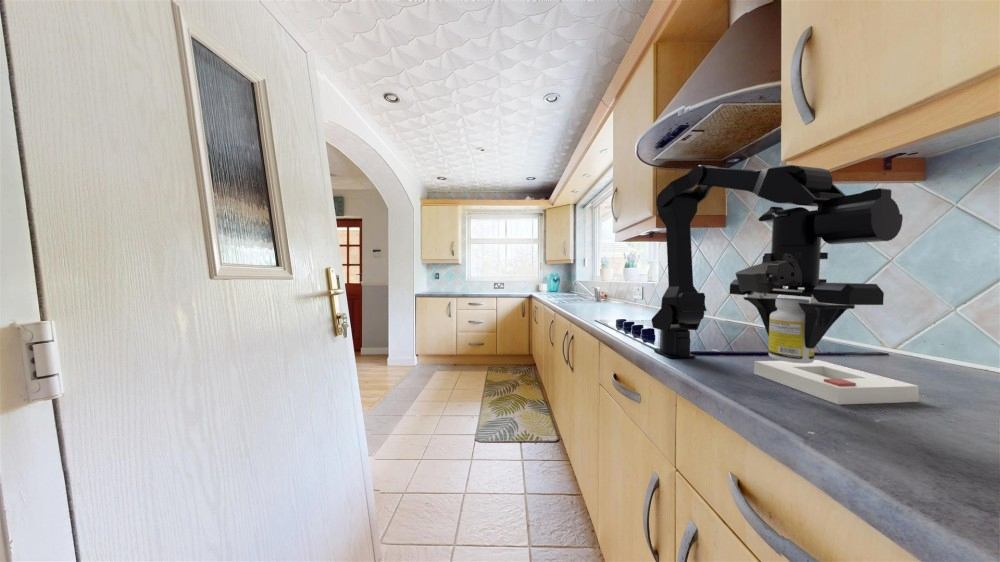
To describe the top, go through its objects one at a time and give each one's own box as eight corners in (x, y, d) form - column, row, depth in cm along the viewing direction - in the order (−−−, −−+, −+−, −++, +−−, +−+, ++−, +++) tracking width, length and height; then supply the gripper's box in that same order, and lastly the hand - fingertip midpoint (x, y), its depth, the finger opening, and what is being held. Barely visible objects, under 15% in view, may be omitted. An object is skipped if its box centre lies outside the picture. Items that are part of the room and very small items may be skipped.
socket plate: (754, 373, 61) (754, 359, 61) (817, 372, 62) (818, 358, 62) (838, 404, 47) (839, 385, 47) (917, 401, 49) (919, 383, 48)
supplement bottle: (794, 355, 53) (796, 297, 52) (823, 365, 47) (827, 301, 47) (759, 354, 53) (762, 297, 53) (785, 363, 48) (788, 300, 48)
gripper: (704, 249, 58) (701, 332, 59) (814, 240, 40) (808, 361, 40) (758, 250, 59) (755, 331, 60) (890, 242, 41) (883, 360, 41)
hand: (790, 343), depth 50 cm, fingers closed on supplement bottle, 5 cm apart
